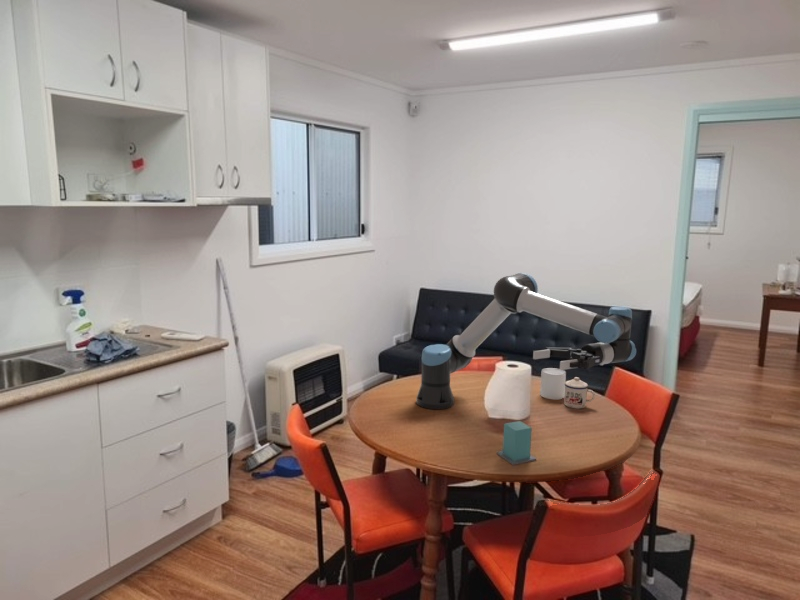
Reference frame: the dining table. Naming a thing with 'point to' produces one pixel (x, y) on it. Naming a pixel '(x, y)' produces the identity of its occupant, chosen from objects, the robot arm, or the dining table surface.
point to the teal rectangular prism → (517, 440)
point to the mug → (553, 383)
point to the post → (515, 460)
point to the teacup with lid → (576, 393)
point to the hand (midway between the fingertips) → (546, 360)
